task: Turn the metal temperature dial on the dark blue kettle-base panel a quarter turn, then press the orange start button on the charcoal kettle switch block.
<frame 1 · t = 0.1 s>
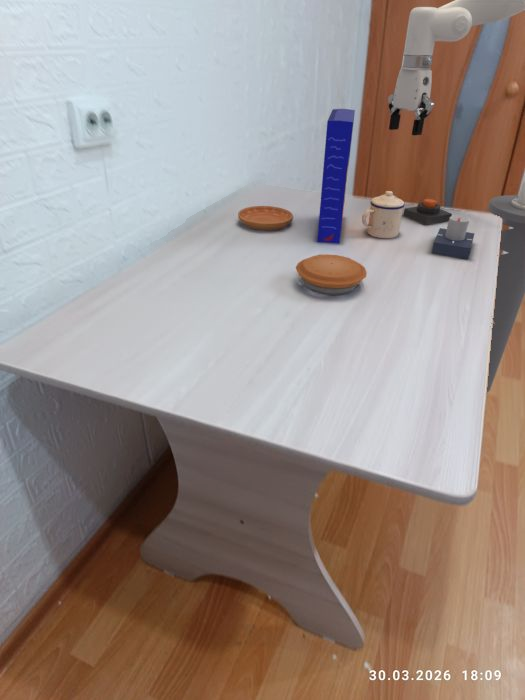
hand: (404, 132, 138), 24 cm above the table, tool pointing down, fingers open, 9 cm apart
start button: (429, 203, 145), point 4 cm above the table, slide at 0.1 cm
teacup with lid: (378, 234, 135), on the table
dial: (457, 227, 124), point 6 cm above the table, hinge at 0.0°
switch block: (426, 218, 148), on the table
cereal box: (330, 229, 138), on the table
dial panel: (451, 248, 127), on the table
saucer: (265, 224, 141), on the table
pie: (329, 285, 108), on the table
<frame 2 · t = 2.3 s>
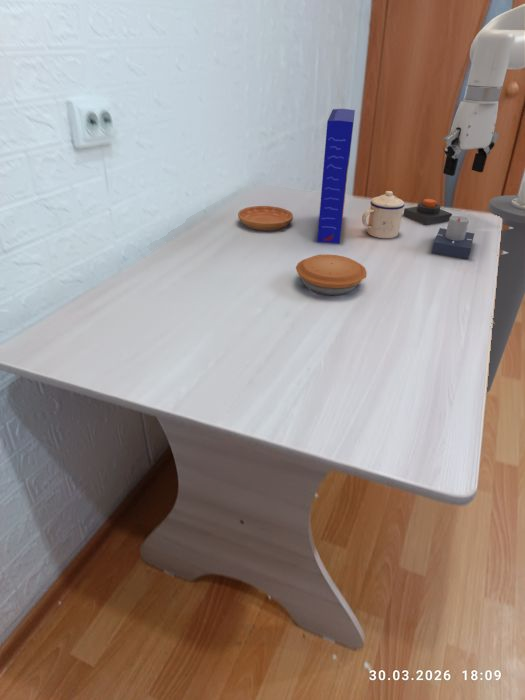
hand: (463, 172, 119), 19 cm above the table, tool pointing down, fingers open, 9 cm apart
nothing on the table moved.
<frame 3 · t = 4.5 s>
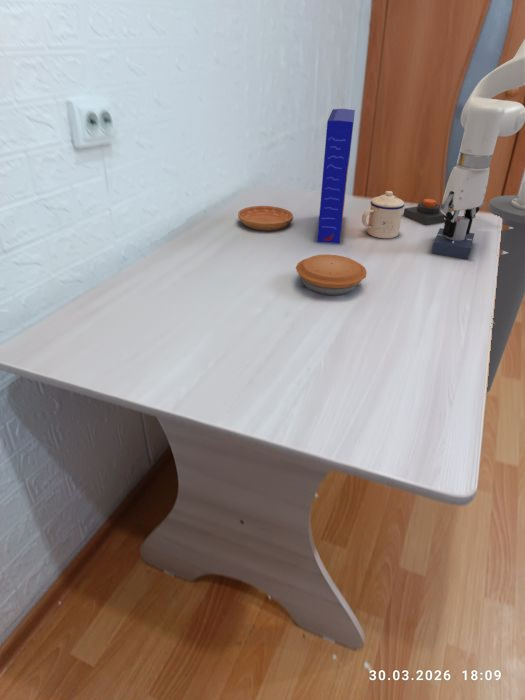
hand: (455, 233, 125), 4 cm above the table, tool pointing down, fingers closed on dial, 4 cm apart
dial: (457, 227, 124), point 6 cm above the table, hinge at -0.1°, touching gripper
everything else where it was.
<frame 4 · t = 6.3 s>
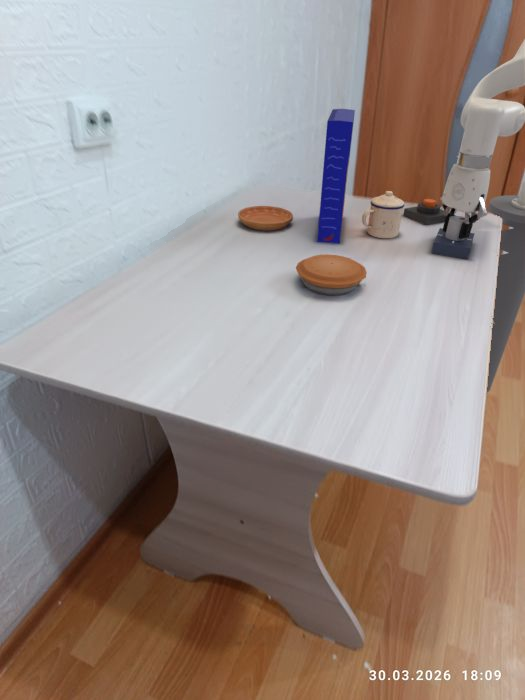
hand: (455, 233, 125), 4 cm above the table, tool pointing down, fingers closed on dial, 4 cm apart
dial: (457, 227, 124), point 6 cm above the table, hinge at 89.5°, touching gripper
everything else where it was.
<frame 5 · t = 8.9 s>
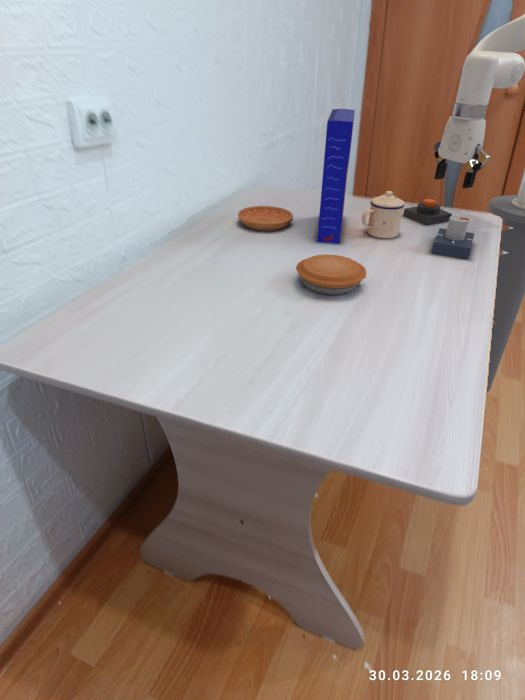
hand: (452, 183, 127), 14 cm above the table, tool pointing down, fingers open, 9 cm apart
dial: (457, 227, 124), point 6 cm above the table, hinge at 91.3°
everything else where it was.
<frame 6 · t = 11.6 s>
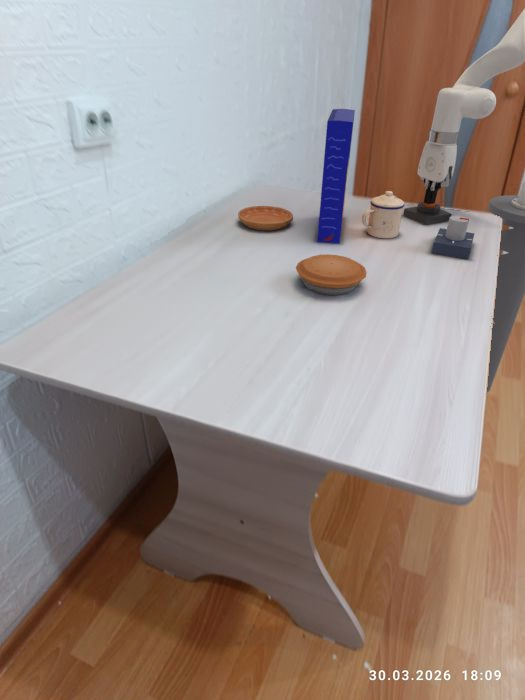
hand: (429, 202, 145), 5 cm above the table, tool pointing down, fingers closed
start button: (429, 205, 146), point 4 cm above the table, slide at -0.6 cm, touching gripper
everything else where it was.
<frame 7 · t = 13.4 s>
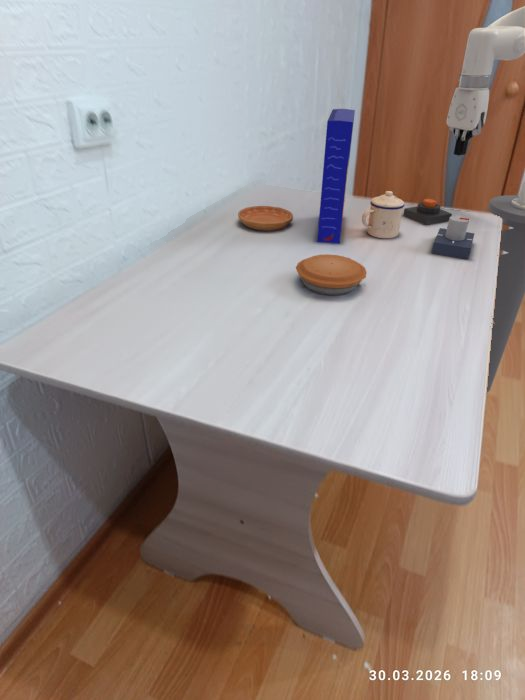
hand: (459, 154, 140), 18 cm above the table, tool pointing down, fingers closed
start button: (429, 203, 145), point 4 cm above the table, slide at 0.1 cm
everything else where it was.
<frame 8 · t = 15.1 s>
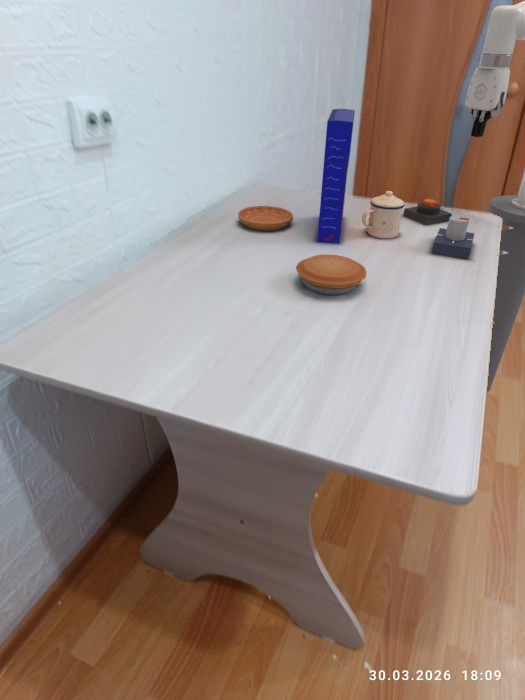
hand: (476, 136, 138), 23 cm above the table, tool pointing down, fingers closed
nothing on the table moved.
at the end: dial at +91° (first picture: +0°); start button pushed in 1.1 cm at the most during the clip, back to where it started at the end; start button slide at 0.1 cm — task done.
